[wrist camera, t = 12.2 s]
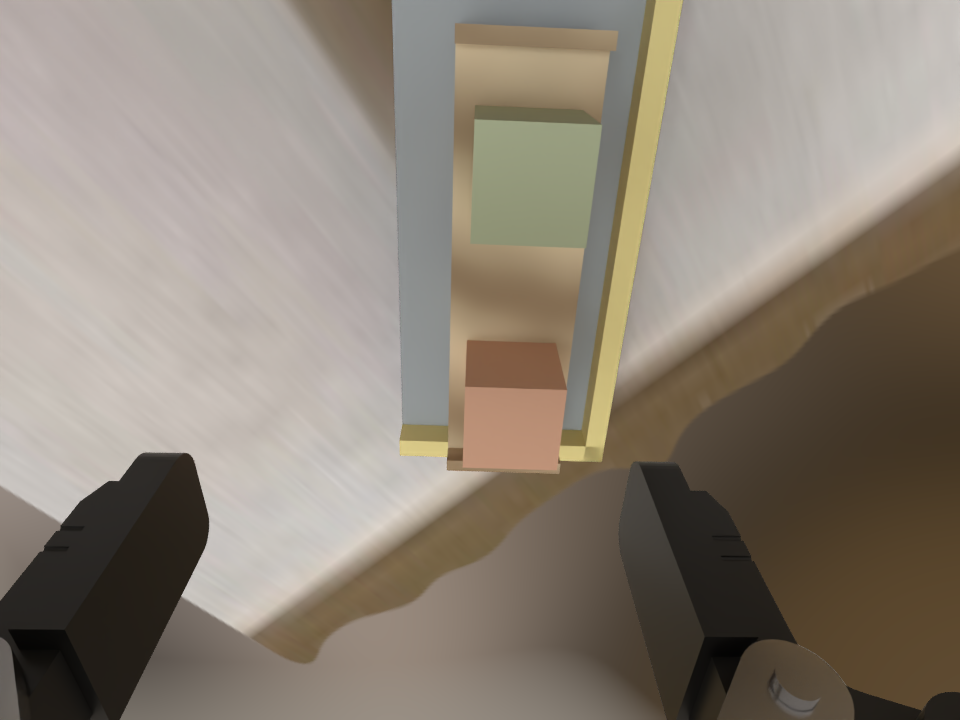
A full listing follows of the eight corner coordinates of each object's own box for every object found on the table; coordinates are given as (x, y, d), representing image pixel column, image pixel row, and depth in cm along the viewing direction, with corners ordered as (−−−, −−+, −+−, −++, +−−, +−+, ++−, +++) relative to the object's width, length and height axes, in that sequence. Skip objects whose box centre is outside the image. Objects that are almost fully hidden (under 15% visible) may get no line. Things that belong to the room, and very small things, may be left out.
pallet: (458, 24, 24) (454, 23, 20) (595, 30, 24) (618, 31, 20) (450, 417, 33) (446, 470, 29) (549, 421, 33) (559, 473, 29)
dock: (402, -16, 27) (386, -26, 22) (647, -4, 27) (684, -11, 22) (410, 400, 37) (400, 455, 32) (585, 406, 37) (601, 461, 33)
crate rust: (466, 340, 27) (465, 386, 23) (555, 343, 27) (567, 390, 23) (464, 414, 29) (462, 467, 25) (547, 416, 29) (556, 470, 25)
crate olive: (475, 105, 22) (474, 119, 19) (582, 109, 22) (602, 124, 19) (471, 212, 24) (470, 243, 21) (570, 216, 24) (586, 248, 21)
